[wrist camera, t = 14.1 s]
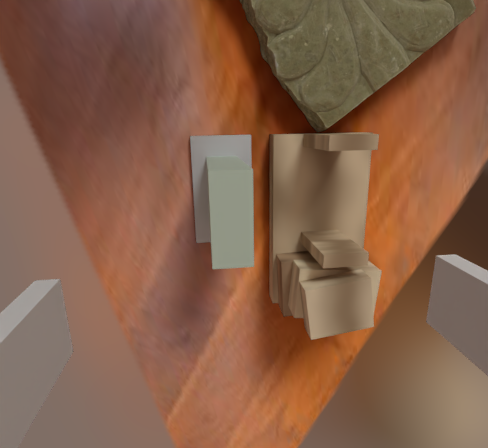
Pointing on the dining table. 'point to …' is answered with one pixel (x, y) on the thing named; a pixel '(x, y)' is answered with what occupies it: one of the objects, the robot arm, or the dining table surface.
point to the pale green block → (230, 212)
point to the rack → (319, 198)
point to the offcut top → (337, 303)
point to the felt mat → (199, 152)
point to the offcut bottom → (287, 276)
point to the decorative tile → (346, 46)
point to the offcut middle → (314, 270)
